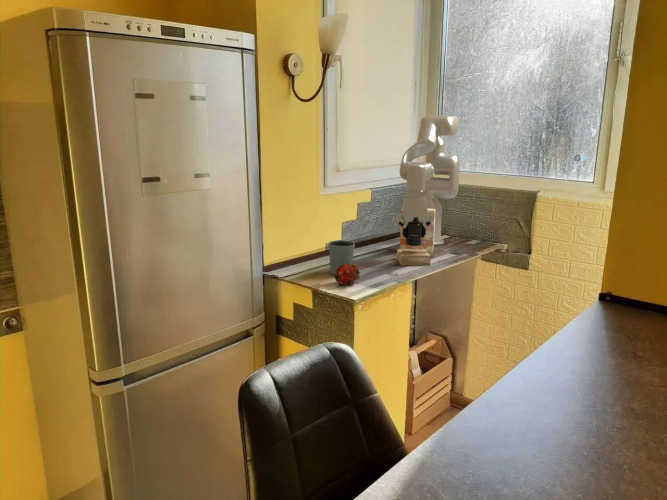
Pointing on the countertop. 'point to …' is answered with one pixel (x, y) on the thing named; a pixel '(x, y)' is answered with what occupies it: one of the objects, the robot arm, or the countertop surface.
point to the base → (413, 257)
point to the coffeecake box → (426, 241)
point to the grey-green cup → (340, 254)
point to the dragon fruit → (346, 274)
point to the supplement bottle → (414, 233)
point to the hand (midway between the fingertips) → (413, 236)
